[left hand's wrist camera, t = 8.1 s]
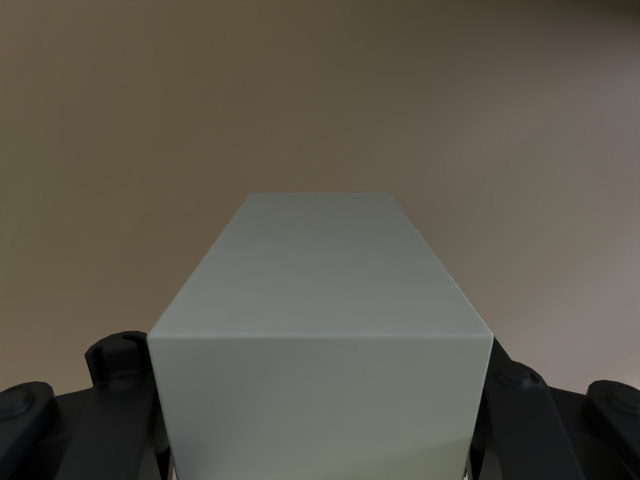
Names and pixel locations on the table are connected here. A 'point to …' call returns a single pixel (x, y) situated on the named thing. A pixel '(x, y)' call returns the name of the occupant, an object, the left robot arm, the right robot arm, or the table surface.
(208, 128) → the table surface
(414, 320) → the bar
